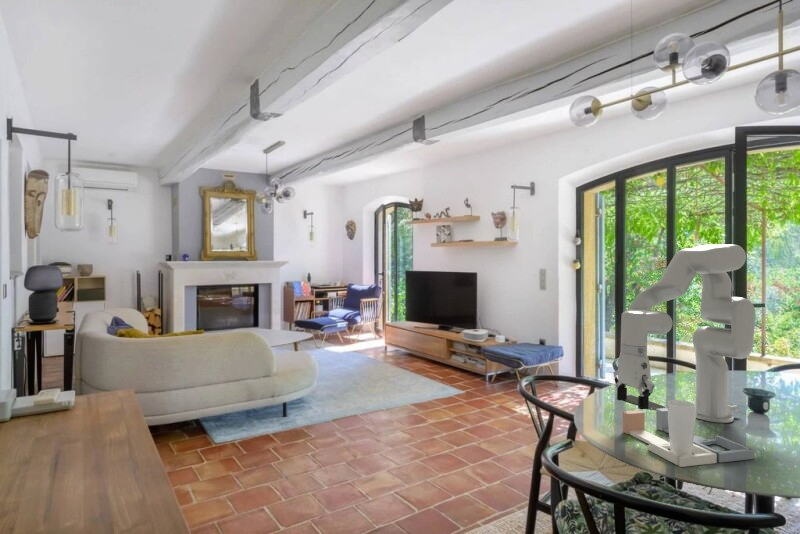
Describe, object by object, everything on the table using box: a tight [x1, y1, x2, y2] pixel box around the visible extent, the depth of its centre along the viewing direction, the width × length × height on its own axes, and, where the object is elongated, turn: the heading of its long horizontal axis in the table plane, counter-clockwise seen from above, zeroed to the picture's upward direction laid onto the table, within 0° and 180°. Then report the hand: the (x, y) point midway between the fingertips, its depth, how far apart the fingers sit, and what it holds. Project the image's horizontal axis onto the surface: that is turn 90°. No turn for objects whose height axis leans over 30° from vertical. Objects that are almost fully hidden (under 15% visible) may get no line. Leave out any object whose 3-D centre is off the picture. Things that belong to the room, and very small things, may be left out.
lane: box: [622, 409, 718, 468], centre depth 140 cm, size 11×26×6 cm, turn 13°
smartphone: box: [623, 394, 666, 411], centre depth 183 cm, size 7×1×16 cm
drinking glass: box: [667, 399, 697, 456], centre depth 133 cm, size 7×7×15 cm
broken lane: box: [655, 407, 755, 463], centre depth 142 cm, size 11×26×6 cm, turn 13°
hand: (632, 404), depth 151 cm, fingers open, 9 cm apart
